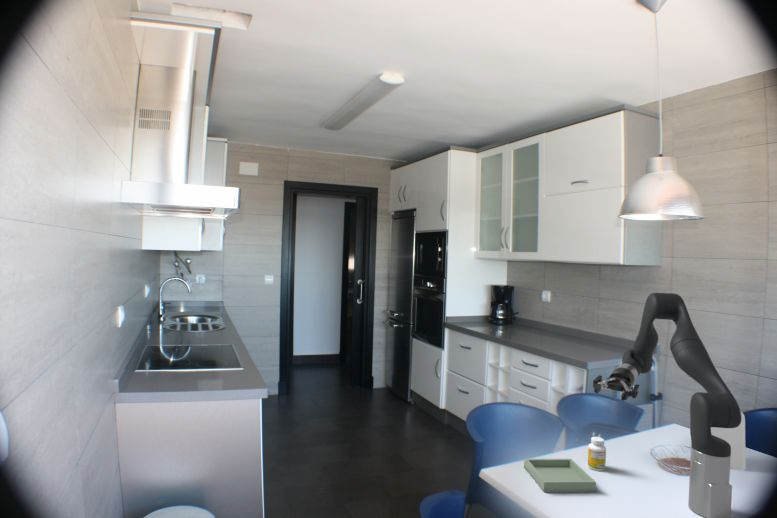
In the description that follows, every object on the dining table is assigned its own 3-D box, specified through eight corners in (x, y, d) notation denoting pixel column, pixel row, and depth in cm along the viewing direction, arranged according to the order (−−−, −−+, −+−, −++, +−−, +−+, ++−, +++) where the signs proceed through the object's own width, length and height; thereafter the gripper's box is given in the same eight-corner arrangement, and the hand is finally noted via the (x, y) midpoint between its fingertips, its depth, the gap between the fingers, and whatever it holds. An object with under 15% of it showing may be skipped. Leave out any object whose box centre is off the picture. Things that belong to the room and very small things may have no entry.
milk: (745, 470, 161) (749, 394, 160) (706, 465, 164) (710, 390, 163) (730, 456, 172) (733, 385, 172) (694, 451, 175) (697, 381, 175)
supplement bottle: (590, 462, 163) (591, 434, 163) (607, 467, 159) (608, 438, 159) (585, 467, 159) (586, 438, 159) (602, 472, 155) (603, 443, 155)
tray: (595, 492, 142) (595, 482, 142) (543, 492, 141) (544, 482, 141) (570, 467, 158) (570, 458, 158) (523, 467, 157) (524, 458, 157)
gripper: (604, 362, 179) (588, 379, 167) (645, 372, 169) (631, 390, 158) (603, 381, 180) (587, 398, 169) (644, 391, 171) (631, 410, 159)
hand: (609, 394), depth 163 cm, fingers open, 8 cm apart
